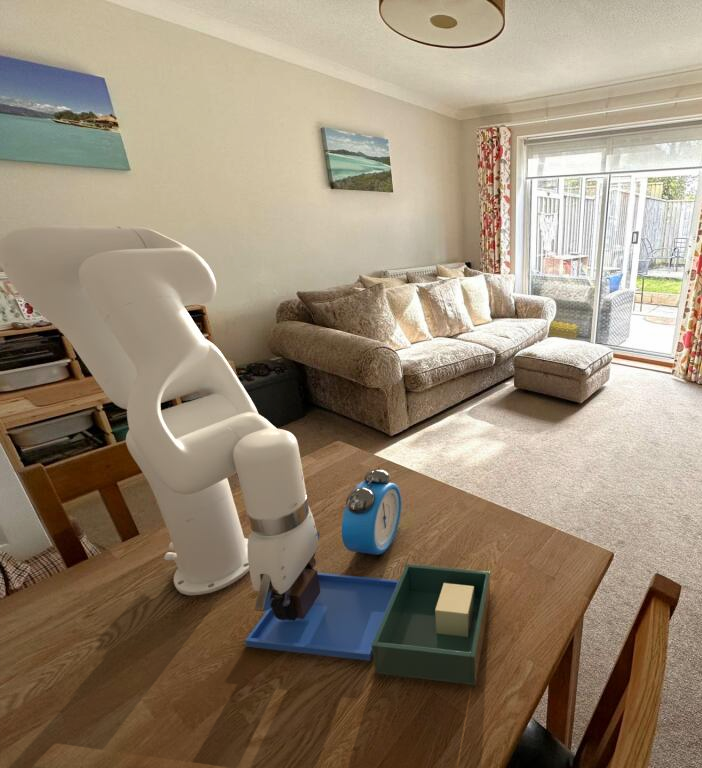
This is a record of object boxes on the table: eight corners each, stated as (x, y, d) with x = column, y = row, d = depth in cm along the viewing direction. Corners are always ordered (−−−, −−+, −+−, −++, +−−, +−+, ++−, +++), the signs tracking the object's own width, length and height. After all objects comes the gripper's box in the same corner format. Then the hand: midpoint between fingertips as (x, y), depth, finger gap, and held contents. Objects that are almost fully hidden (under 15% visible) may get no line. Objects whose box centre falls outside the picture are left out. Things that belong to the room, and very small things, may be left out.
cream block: (436, 633, 62) (434, 610, 60) (444, 605, 67) (443, 582, 65) (468, 637, 62) (467, 613, 60) (474, 608, 66) (474, 586, 64)
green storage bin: (375, 675, 57) (371, 645, 54) (408, 590, 70) (406, 563, 68) (475, 686, 56) (474, 657, 53) (489, 598, 69) (490, 571, 67)
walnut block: (273, 615, 63) (267, 592, 61) (292, 588, 68) (287, 565, 66) (303, 619, 63) (299, 596, 61) (320, 591, 67) (317, 569, 65)
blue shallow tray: (247, 648, 60) (244, 640, 59) (298, 577, 72) (296, 570, 71) (370, 662, 58) (369, 654, 58) (401, 587, 70) (401, 580, 70)
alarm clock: (376, 571, 73) (367, 504, 68) (344, 567, 74) (333, 500, 69) (404, 522, 85) (398, 462, 80) (377, 519, 86) (369, 459, 81)
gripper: (289, 474, 66) (305, 557, 73) (208, 554, 50) (237, 650, 58) (334, 479, 66) (345, 562, 73) (265, 561, 50) (287, 657, 57)
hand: (297, 600), depth 65 cm, fingers closed on walnut block, 5 cm apart
